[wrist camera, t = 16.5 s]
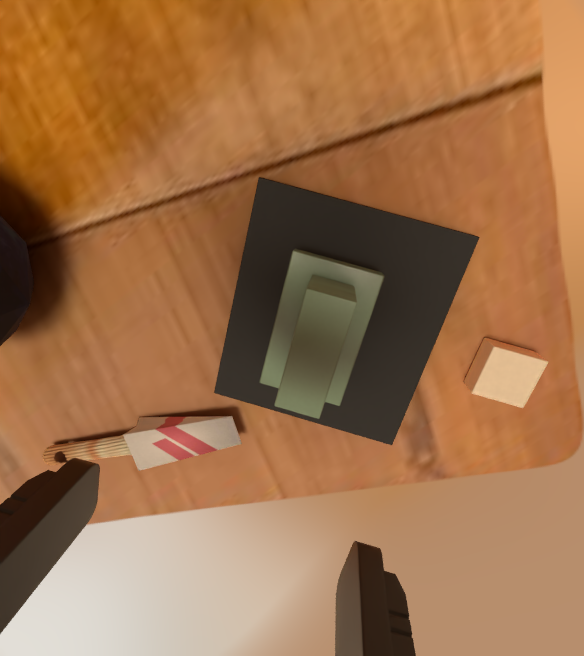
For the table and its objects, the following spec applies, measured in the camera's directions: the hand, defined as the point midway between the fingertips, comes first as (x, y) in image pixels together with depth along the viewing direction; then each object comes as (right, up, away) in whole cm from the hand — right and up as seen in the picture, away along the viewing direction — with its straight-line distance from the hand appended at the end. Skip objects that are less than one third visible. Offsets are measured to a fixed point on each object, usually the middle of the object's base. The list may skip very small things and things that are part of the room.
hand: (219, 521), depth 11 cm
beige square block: (+18, +3, +18) cm, 26 cm away
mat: (+5, +6, +18) cm, 20 cm away
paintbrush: (-12, -4, +24) cm, 27 cm away
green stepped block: (+4, +6, +18) cm, 19 cm away
